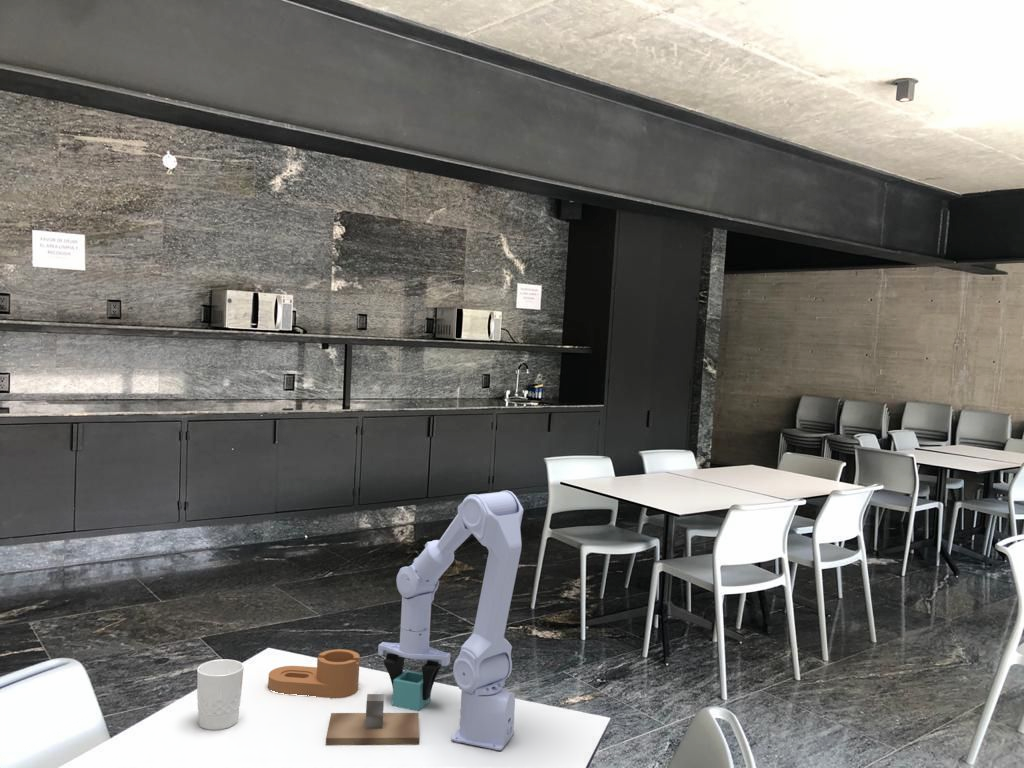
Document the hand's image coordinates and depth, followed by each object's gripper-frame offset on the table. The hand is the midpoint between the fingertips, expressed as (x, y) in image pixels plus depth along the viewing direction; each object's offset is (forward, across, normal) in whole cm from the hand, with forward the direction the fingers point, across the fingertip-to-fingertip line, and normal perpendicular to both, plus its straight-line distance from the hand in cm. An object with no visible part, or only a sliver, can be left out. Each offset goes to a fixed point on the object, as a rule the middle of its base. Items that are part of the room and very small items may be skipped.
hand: (411, 695), depth 160 cm
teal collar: (+1, 0, 0) cm, 1 cm away
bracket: (+2, +21, +2) cm, 21 cm away
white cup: (+2, +28, +22) cm, 36 cm away
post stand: (+1, +1, +14) cm, 14 cm away
